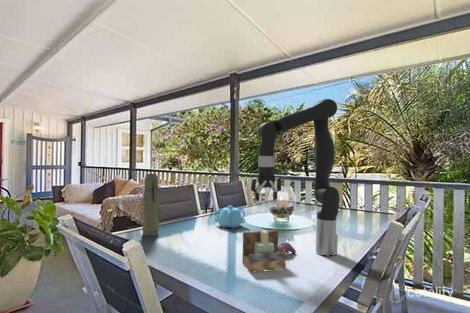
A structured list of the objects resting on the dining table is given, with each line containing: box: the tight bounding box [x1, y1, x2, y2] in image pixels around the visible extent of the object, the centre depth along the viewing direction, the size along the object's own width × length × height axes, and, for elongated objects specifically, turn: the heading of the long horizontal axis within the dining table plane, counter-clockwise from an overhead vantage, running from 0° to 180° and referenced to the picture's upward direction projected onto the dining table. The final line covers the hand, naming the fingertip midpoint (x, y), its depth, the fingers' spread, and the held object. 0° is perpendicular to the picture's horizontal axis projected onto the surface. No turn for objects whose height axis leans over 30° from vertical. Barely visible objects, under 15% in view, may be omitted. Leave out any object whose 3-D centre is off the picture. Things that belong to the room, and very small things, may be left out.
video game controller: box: [278, 241, 297, 259], centre depth 145 cm, size 10×5×7 cm, turn 142°
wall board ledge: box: [241, 229, 287, 273], centre depth 130 cm, size 16×10×14 cm, turn 105°
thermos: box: [142, 173, 160, 238], centre depth 174 cm, size 9×12×35 cm
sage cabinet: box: [254, 229, 274, 254], centre depth 130 cm, size 7×5×11 cm
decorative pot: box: [214, 205, 246, 229], centre depth 198 cm, size 16×16×14 cm
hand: (266, 200), depth 141 cm, fingers open, 8 cm apart
